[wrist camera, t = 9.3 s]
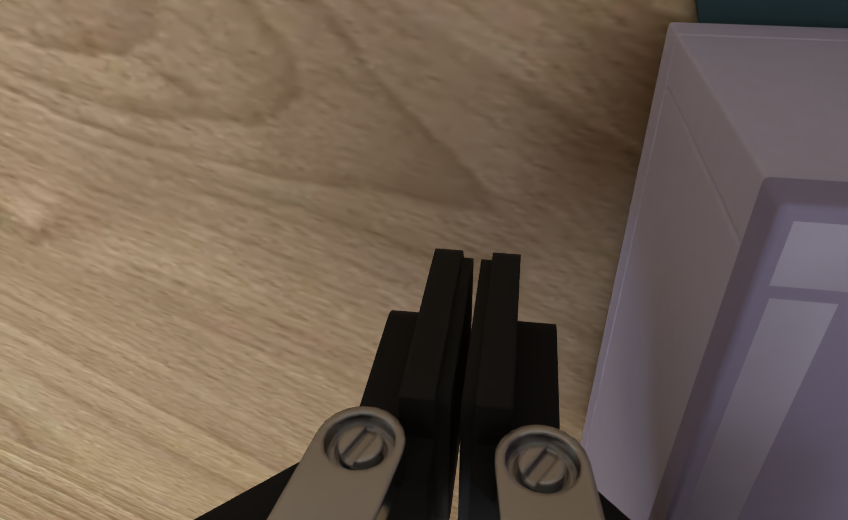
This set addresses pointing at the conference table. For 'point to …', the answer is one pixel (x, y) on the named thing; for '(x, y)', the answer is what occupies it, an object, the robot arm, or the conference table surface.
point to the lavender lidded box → (732, 287)
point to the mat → (775, 12)
